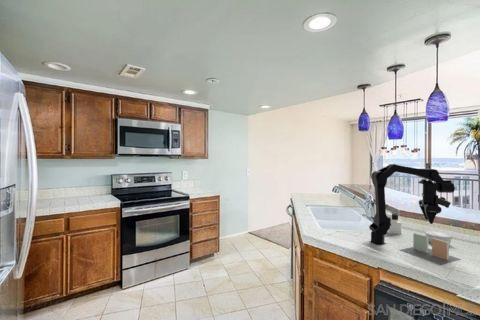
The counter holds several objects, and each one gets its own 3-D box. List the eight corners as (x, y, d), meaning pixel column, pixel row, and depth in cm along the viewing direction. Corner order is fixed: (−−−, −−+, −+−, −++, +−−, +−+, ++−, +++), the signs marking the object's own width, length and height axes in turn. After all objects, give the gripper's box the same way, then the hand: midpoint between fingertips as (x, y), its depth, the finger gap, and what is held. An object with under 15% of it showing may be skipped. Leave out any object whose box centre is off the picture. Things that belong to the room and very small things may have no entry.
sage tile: (426, 253, 116) (426, 236, 116) (413, 248, 122) (413, 233, 122) (428, 252, 117) (428, 236, 117) (415, 248, 123) (415, 232, 122)
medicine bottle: (395, 230, 153) (395, 212, 153) (401, 234, 146) (401, 214, 145) (383, 230, 154) (383, 211, 153) (389, 234, 146) (389, 214, 146)
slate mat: (440, 266, 103) (440, 265, 103) (398, 251, 120) (398, 250, 120) (461, 260, 109) (461, 259, 109) (419, 246, 126) (419, 245, 126)
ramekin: (420, 241, 135) (420, 231, 135) (433, 238, 139) (433, 229, 139) (443, 248, 124) (443, 238, 124) (456, 245, 128) (456, 235, 128)
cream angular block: (446, 260, 109) (446, 242, 108) (431, 255, 114) (432, 238, 114) (448, 259, 109) (449, 242, 109) (433, 254, 115) (434, 238, 115)
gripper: (455, 196, 114) (454, 228, 115) (443, 191, 131) (443, 219, 131) (426, 194, 120) (425, 225, 120) (418, 189, 136) (418, 216, 136)
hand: (428, 221), depth 127 cm, fingers open, 9 cm apart
